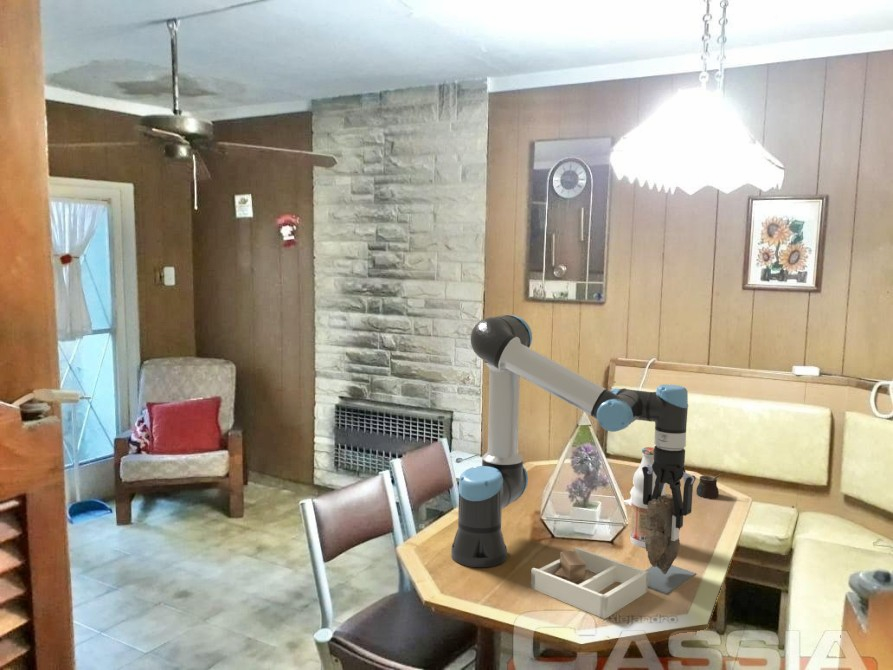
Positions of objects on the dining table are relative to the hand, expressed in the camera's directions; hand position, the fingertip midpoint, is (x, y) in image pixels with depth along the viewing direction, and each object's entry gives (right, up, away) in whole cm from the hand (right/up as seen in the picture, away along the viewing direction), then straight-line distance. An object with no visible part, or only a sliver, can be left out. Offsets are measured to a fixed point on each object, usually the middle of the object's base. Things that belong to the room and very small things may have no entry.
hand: (665, 536), depth 180 cm
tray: (-21, -12, -6) cm, 24 cm away
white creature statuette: (+7, -6, +52) cm, 53 cm away
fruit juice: (+2, -9, +23) cm, 25 cm away
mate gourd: (+34, -6, +62) cm, 71 cm away
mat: (0, -11, +1) cm, 11 cm away
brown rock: (0, -10, +1) cm, 10 cm away
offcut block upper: (-24, -8, -3) cm, 26 cm away
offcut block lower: (-25, -11, -2) cm, 28 cm away
